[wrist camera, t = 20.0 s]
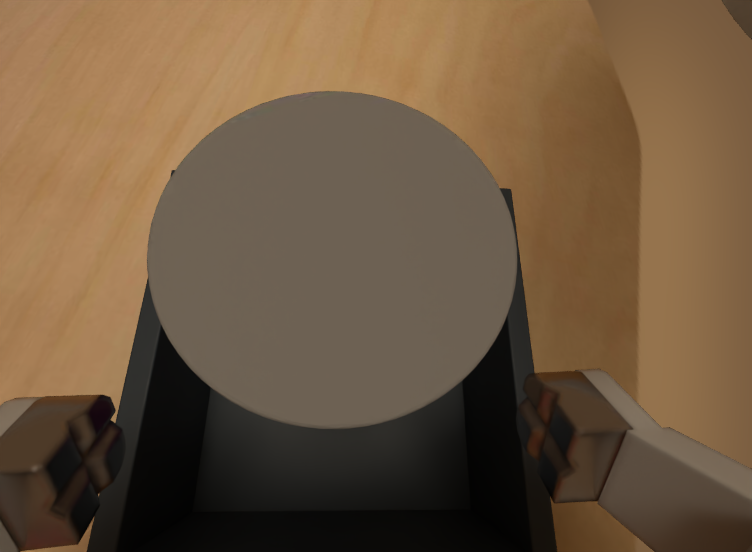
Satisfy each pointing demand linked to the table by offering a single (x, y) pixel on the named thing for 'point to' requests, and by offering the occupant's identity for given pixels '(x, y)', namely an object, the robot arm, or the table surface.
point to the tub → (324, 465)
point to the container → (332, 260)
